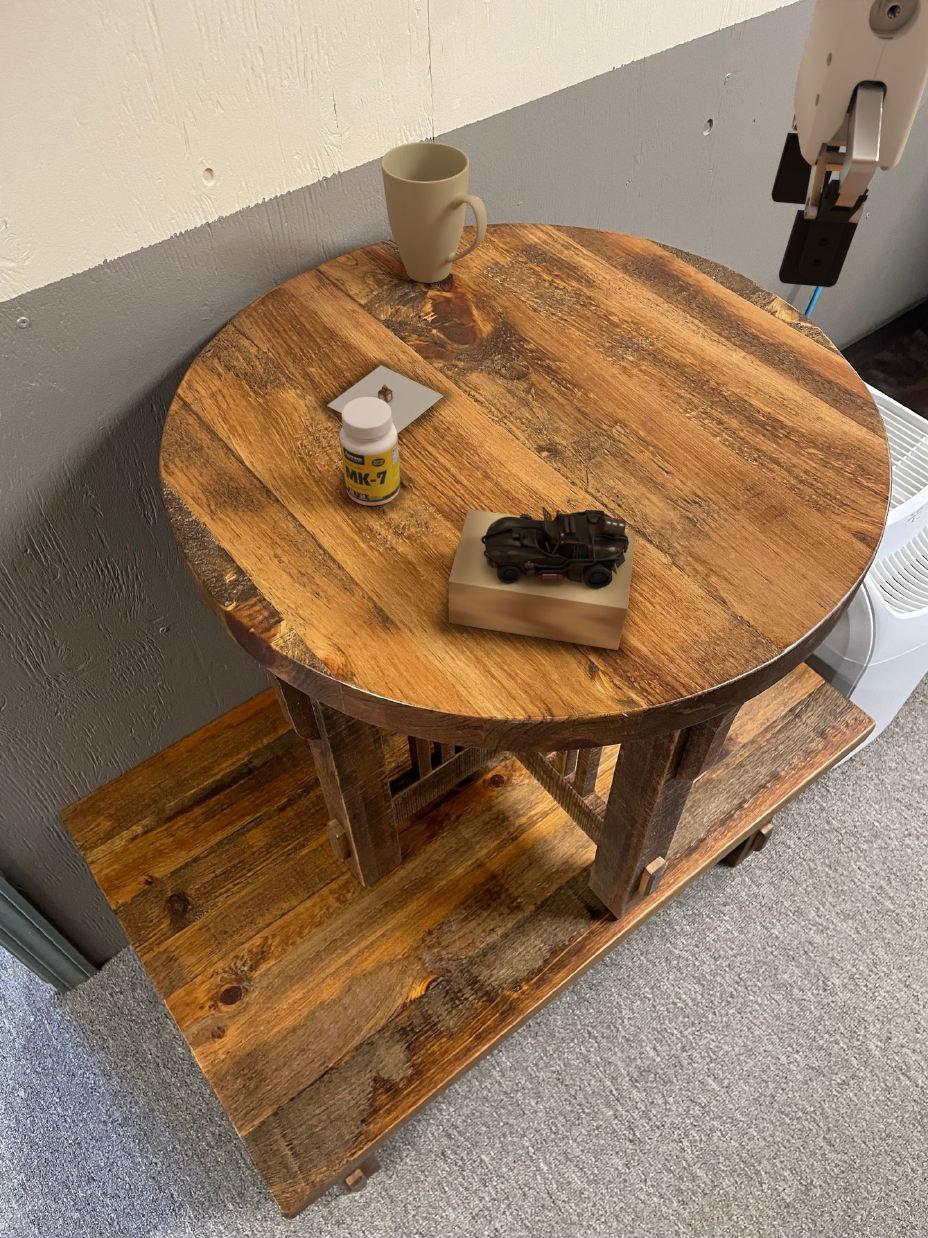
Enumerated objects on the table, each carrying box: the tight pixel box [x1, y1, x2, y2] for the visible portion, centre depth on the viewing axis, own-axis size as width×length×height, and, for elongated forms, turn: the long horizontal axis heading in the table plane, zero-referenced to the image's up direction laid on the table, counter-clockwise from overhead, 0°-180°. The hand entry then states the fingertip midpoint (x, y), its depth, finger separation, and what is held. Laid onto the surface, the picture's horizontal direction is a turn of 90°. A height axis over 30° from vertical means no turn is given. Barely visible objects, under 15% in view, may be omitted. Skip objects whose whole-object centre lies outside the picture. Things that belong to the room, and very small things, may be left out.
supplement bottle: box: [339, 397, 401, 506], centre depth 72 cm, size 5×5×8 cm
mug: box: [380, 141, 488, 284], centre depth 92 cm, size 11×10×12 cm
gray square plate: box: [326, 364, 445, 435], centre depth 82 cm, size 8×8×2 cm
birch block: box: [447, 508, 636, 651], centre depth 66 cm, size 13×8×5 cm, turn 79°
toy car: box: [481, 506, 629, 589], centre depth 62 cm, size 6×12×4 cm, turn 91°
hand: (800, 239), depth 53 cm, fingers open, 9 cm apart
